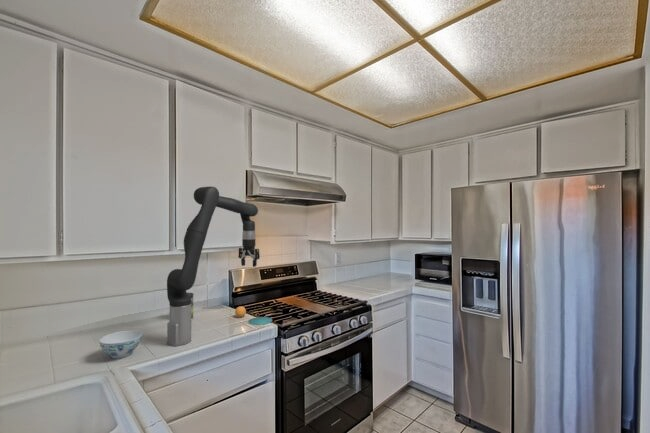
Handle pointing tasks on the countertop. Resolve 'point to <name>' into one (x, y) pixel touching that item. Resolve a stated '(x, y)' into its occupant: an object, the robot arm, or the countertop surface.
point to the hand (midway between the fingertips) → (248, 266)
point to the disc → (260, 320)
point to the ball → (240, 311)
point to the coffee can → (191, 303)
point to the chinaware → (120, 343)
